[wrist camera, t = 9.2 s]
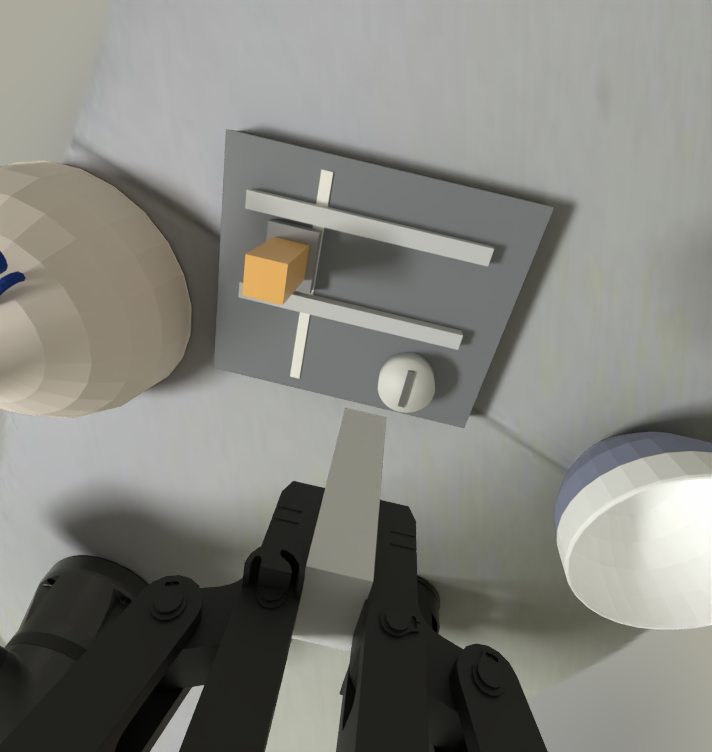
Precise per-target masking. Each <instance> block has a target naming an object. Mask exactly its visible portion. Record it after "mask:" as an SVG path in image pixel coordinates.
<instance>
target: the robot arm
mask: <svg viewBox="0 0 712 752" xmlns="http://www.w3.org/2000/svg"><path fill="white" fill-rule="evenodd" d="M385 430H386V417H383V416H378V415H374V414H370V413H365V412H361V411H357V410H352V409H348V408H345V411H344V415H343V419H342V423H341V427H340V431H339V435H338V439H337V443H336V447H335V451H334V455H333V459H332V463H331V467H330V471H329V475H328V479H327V483H326V487H325V488H322V487H317V486H313V485H309V484H304V483H300V482H296V481H293V482H292V483H291V484H289V485H288V486H287V487H286V488H285V489H284V490H283V491H282V493H281V495H280V498H279V501H278V503H277V507H276V509H275V511H274V514H273V517H272V520H271V522H270V525H269V527H268V530H267V533H266V535H265V538H264V541H263V543H262V546H261V547H259V548H258V549H256V550H255V551H253V552H252V553H251V554H250V555H249V557H248V558H247V560H246V562H245V566H244V574H243V578H242V579H240V580H239V581H237V582H235V583H232V584H230V585H226V586H220V587H210V588H199V586H198V584H196V583H195V582H194V581H193V580H192V579H190V578H187V577H183V576H180V575H177V576H166V577H164V578H161V579H159V580H156V581H154V582H153V583H151V584H150V585H149V586H148V585H147V584H146V583H145V582H144V581H143V580H142V579H140V578H139V577H138V576H137V575H135V574H134V573H132V572H131V571H129V570H127V569H125V568H123V567H121V566H119V565H117V564H115V563H112V562H109V561H106V560H103V559H99V558H94V557H86V556H76V557H69V558H66V559H63V560H61V561H59V562H57V563H56V564H55V565H54V566H53V567H52V569H51V570H50V571H49V572H48V573H47V574H46V576H45V577H44V578H43V579H42V581H41V582H40V584H39V586H38V588H37V590H36V592H35V595H34V597H33V599H32V601H31V603H30V606H29V608H28V610H27V612H26V614H25V617H24V619H23V621H22V623H21V625H20V628H19V630H18V631H17V633H16V634H15V635H14V636H13V638H12V639H11V640H10V641H9V643H8V644H7V645H6V646H5V648H3V647H1V646H0V752H150V751H151V749H152V747H153V746H154V744H155V743H156V741H157V740H158V738H159V737H160V735H161V734H162V732H163V731H164V729H165V728H166V726H167V724H168V723H169V721H170V720H171V718H172V717H173V715H174V714H175V712H176V711H177V709H178V708H179V706H180V705H181V703H182V701H183V700H184V698H185V697H186V695H187V694H188V692H189V691H190V689H191V688H192V687H194V686H200V685H204V688H203V690H202V693H201V696H200V698H199V701H198V703H197V706H196V709H195V711H194V714H193V716H192V719H191V722H190V724H189V727H188V730H187V732H186V735H185V737H184V740H183V743H182V745H181V748H180V750H179V752H265V749H266V745H267V741H268V736H269V732H270V728H271V724H272V720H273V715H274V711H275V707H276V703H277V699H278V694H279V690H280V686H281V682H282V678H283V673H284V669H285V665H286V660H287V656H288V651H289V647H290V643H291V639H292V638H293V639H298V640H302V641H306V642H311V643H315V644H319V645H323V646H328V647H332V648H336V649H341V650H345V651H350V648H351V656H350V664H349V667H348V670H347V673H346V676H345V678H344V681H343V684H342V687H341V690H340V695H343V699H342V708H341V716H340V724H339V732H338V740H337V748H336V752H548V751H547V749H546V747H545V744H544V742H543V739H542V737H541V734H540V732H539V729H538V727H537V725H536V722H535V720H534V717H533V715H532V712H531V710H530V708H529V705H528V703H527V700H526V698H525V695H524V693H523V690H522V688H521V685H520V683H519V680H518V678H517V676H516V674H515V672H514V670H513V669H512V667H511V665H510V663H509V662H508V661H507V660H506V659H505V658H504V657H503V656H502V655H501V654H500V653H499V652H498V651H496V650H494V649H492V648H491V647H489V646H486V645H481V644H473V645H469V646H466V647H465V648H464V649H462V648H460V647H458V646H457V645H455V644H453V643H452V642H450V641H448V640H447V639H445V638H443V637H442V636H440V635H439V634H438V633H436V632H435V631H434V630H433V629H432V628H431V627H430V626H429V625H428V624H427V622H426V621H425V619H424V618H423V616H422V614H421V611H420V609H419V605H418V595H417V552H416V521H415V519H414V517H413V514H412V512H411V510H410V508H409V507H408V506H404V505H400V504H395V503H391V502H387V501H382V500H380V491H381V479H382V467H383V454H384V442H385ZM351 645H352V647H351Z"/></svg>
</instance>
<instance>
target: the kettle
mask: <svg viewBox="0 0 712 752" xmlns="http://www.w3.org/2000/svg"><path fill="white" fill-rule="evenodd" d="M191 307H192V305H191V301H190V297H189V293H188V289H187V284H186V280H185V276H184V273H183V271H182V269H181V267H180V265H179V263H178V261H177V259H176V257H175V255H174V253H173V251H172V249H171V247H170V245H169V243H168V241H167V240H166V239H165V237H164V236H163V235H162V234H161V232H160V231H159V230H158V229H157V227H156V226H155V225H154V223H153V222H152V221H151V220H150V218H149V217H148V216H147V215H146V213H145V212H144V211H143V210H142V209H140V208H139V207H138V206H137V205H136V204H134V203H133V202H132V201H131V200H130V199H129V198H127V197H126V196H125V195H124V194H123V193H121V192H120V191H119V190H118V189H117V188H116V187H114V186H112V185H111V184H109V183H107V182H105V181H103V180H101V179H99V178H97V177H95V176H93V175H92V174H90V173H88V172H86V171H84V170H82V169H80V168H76V167H71V166H67V165H63V164H59V163H55V162H51V161H46V160H45V161H30V162H15V163H12V164H10V165H5V166H0V409H4V410H8V411H12V412H16V413H20V414H27V415H35V416H44V417H69V418H74V417H78V416H83V415H87V414H91V413H96V412H100V411H104V410H108V409H112V408H116V407H120V406H122V405H124V404H125V403H127V402H128V401H130V400H132V399H133V398H135V397H136V396H138V395H139V394H141V393H142V392H144V391H145V390H147V389H149V388H151V387H152V386H154V385H155V384H157V383H159V382H160V381H162V380H163V379H165V378H166V377H168V376H169V375H170V374H171V372H172V371H173V370H174V369H175V367H176V366H177V365H178V363H179V362H180V361H181V360H182V358H183V356H184V353H185V350H186V347H187V344H188V341H189V338H190V335H191Z"/></svg>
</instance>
